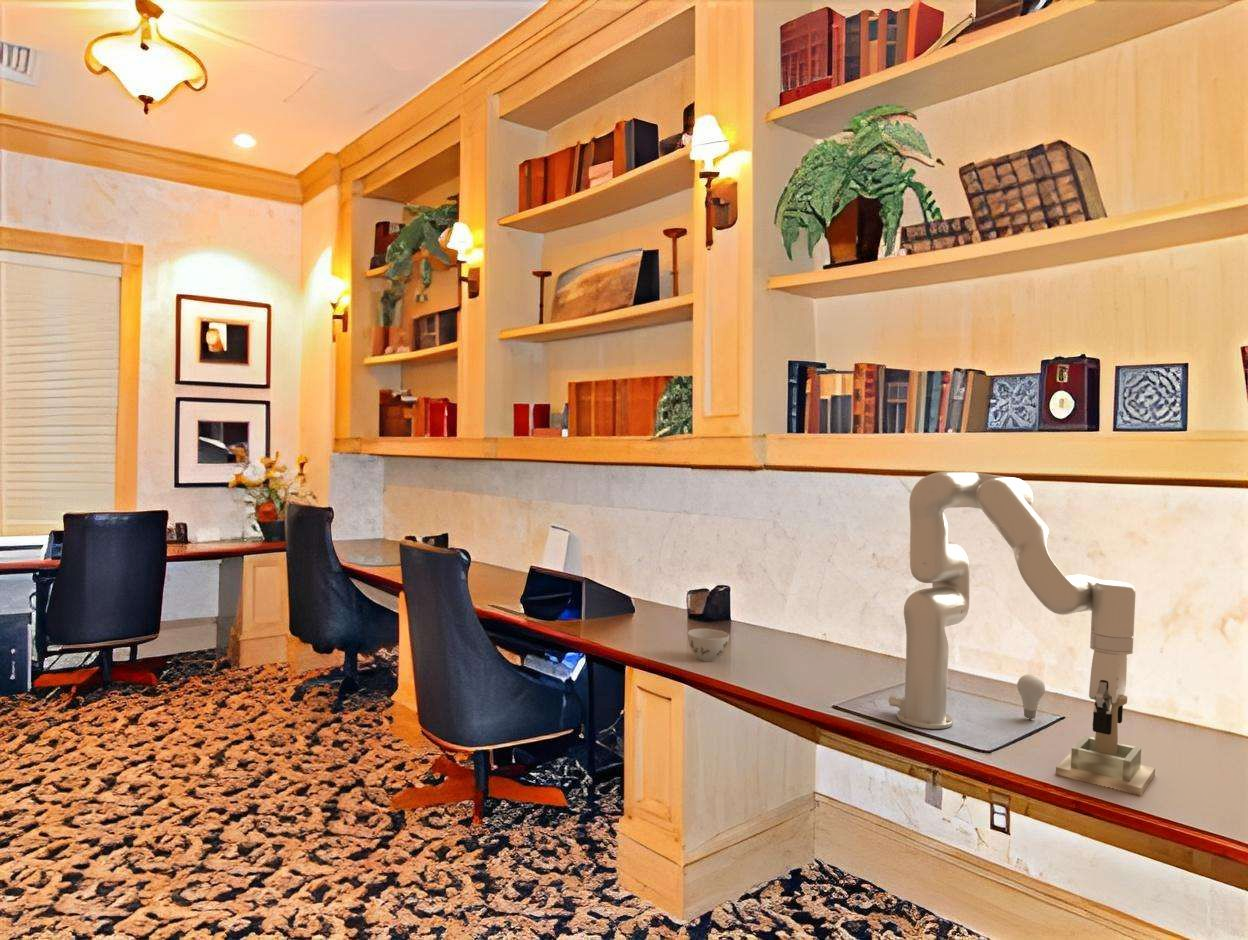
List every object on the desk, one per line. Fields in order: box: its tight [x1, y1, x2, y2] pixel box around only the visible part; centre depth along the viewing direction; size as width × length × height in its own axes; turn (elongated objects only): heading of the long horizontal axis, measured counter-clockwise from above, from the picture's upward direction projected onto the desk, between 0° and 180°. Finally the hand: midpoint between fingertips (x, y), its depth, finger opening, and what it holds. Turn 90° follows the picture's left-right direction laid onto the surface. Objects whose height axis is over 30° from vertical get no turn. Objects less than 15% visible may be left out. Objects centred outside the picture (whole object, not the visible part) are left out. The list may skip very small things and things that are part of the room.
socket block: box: [1055, 735, 1156, 796], centre depth 175 cm, size 15×14×6 cm
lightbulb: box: [1016, 673, 1046, 720], centre depth 209 cm, size 6×6×11 cm
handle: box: [1093, 694, 1128, 756], centre depth 175 cm, size 5×6×15 cm
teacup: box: [687, 628, 730, 662], centre depth 260 cm, size 15×12×8 cm
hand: (1107, 727), depth 174 cm, fingers open, 9 cm apart
